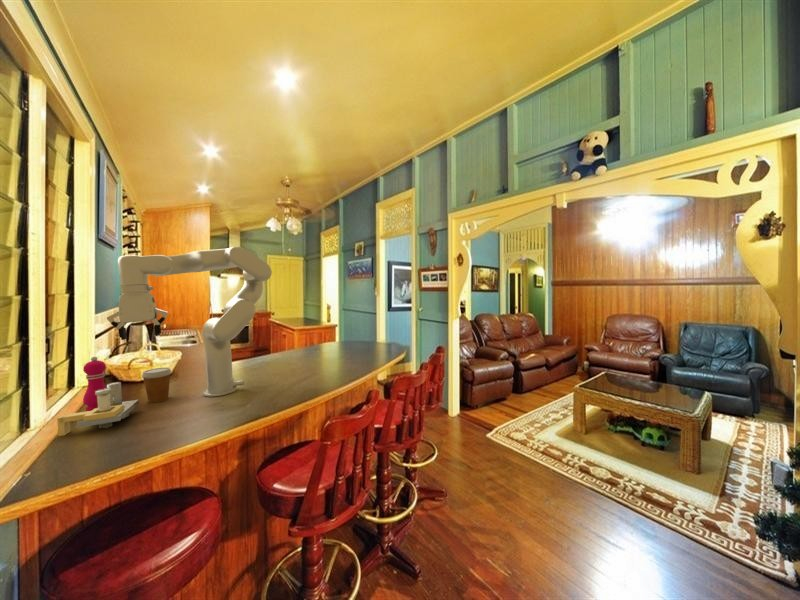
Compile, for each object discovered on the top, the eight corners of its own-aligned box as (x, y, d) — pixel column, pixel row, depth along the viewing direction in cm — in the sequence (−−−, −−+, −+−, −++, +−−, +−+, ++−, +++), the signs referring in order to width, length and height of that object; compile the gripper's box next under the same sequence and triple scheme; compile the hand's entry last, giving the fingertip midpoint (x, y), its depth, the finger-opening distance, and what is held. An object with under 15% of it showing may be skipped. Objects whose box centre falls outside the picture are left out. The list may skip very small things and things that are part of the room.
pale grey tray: (139, 410, 114) (137, 377, 114) (120, 428, 99) (117, 390, 98) (103, 415, 110) (101, 382, 110) (78, 435, 95) (75, 396, 94)
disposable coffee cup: (172, 400, 124) (170, 370, 124) (141, 406, 119) (139, 374, 119) (174, 394, 132) (172, 366, 132) (145, 399, 127) (143, 369, 127)
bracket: (124, 420, 105) (123, 404, 105) (115, 429, 99) (114, 411, 98) (68, 429, 100) (66, 412, 99) (54, 439, 93) (52, 421, 93)
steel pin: (115, 423, 103) (113, 387, 103) (110, 428, 100) (108, 390, 99) (101, 426, 101) (98, 389, 101) (95, 430, 98) (92, 392, 98)
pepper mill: (94, 414, 112) (90, 358, 112) (78, 413, 114) (74, 358, 113) (116, 406, 119) (112, 354, 119) (101, 405, 121) (97, 354, 120)
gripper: (167, 288, 119) (172, 333, 120) (108, 292, 112) (114, 339, 113) (162, 288, 113) (167, 335, 114) (99, 292, 105) (105, 342, 106)
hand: (141, 337), depth 113 cm, fingers open, 9 cm apart
